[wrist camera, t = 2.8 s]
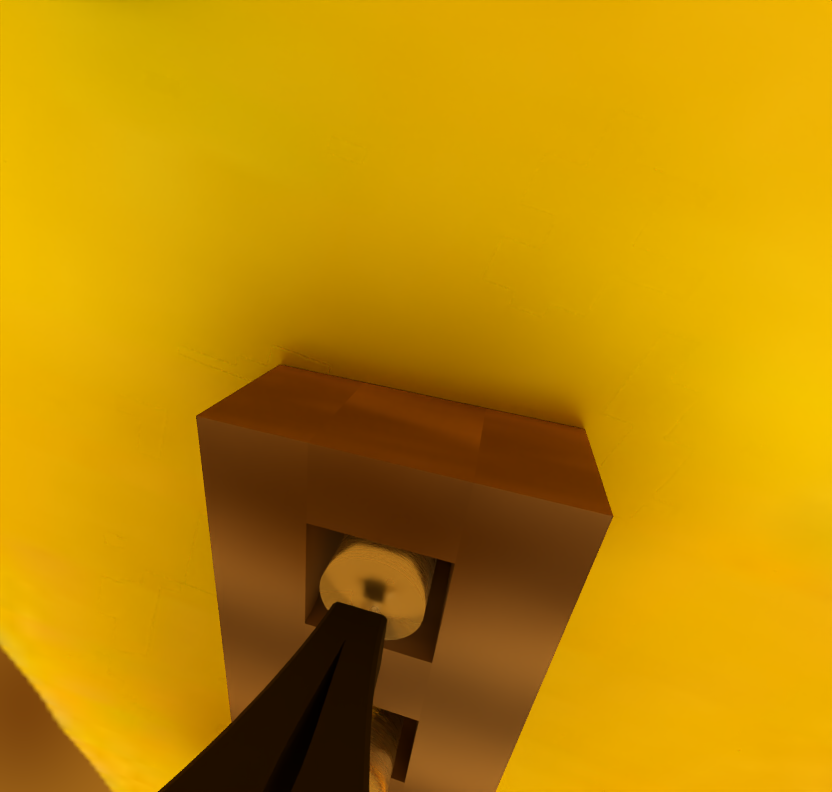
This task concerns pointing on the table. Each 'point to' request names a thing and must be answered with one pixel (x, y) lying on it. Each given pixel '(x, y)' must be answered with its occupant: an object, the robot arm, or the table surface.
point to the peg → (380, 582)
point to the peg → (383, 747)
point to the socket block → (409, 530)
